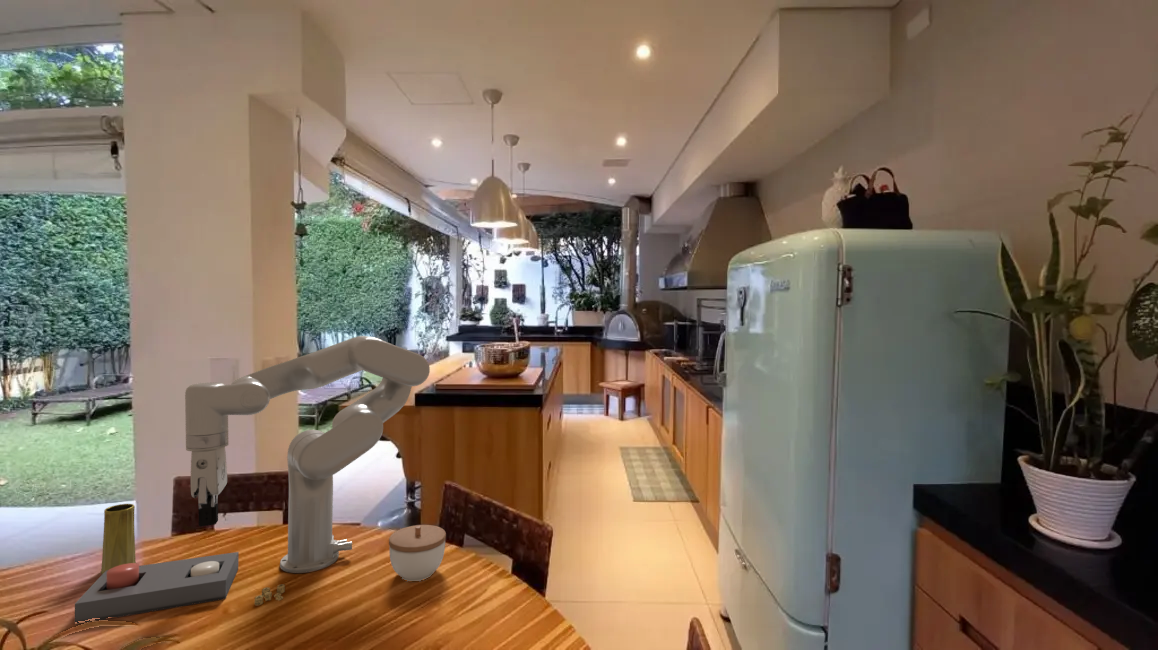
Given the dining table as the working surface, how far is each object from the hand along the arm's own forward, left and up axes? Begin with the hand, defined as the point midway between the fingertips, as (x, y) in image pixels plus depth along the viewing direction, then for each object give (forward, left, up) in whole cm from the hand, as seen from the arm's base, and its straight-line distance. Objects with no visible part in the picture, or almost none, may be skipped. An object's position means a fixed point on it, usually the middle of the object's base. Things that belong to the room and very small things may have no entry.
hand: (208, 523), depth 112 cm
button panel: (+7, 0, -14) cm, 16 cm away
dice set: (-13, +10, -15) cm, 22 cm away
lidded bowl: (-43, +11, -14) cm, 46 cm away
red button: (+14, 0, -10) cm, 18 cm away
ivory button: (0, 0, -12) cm, 12 cm away
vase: (+20, -17, -14) cm, 30 cm away
